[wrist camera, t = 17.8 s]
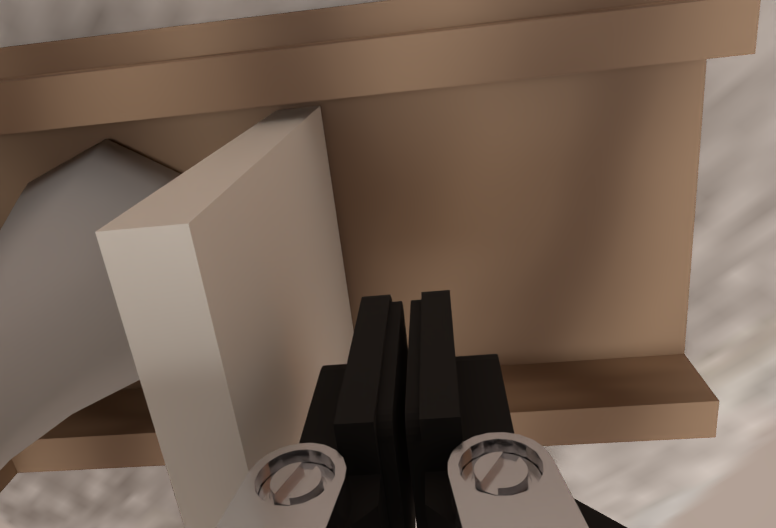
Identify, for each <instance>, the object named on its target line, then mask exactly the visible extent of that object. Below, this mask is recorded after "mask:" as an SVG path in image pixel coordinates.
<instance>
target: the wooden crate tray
mask: <svg viewBox="0 0 776 528" xmlns="http://www.w3.org/2000/svg"><path fill="white" fill-rule="evenodd" d="M760 1H761V0H387V1H379V2H371V3H363V4H355V5H346V6H338V7H330V8H322V9H314V10H305V11H297V12H289V13H281V14H273V15H264V16H256V17H248V18H240V19H232V20H223V21H215V22H207V23H199V24H191V25H182V26H174V27H166V28H158V29H150V30H141V31H133V32H125V33H117V34H109V35H100V36H92V37H84V38H76V39H68V40H59V41H51V42H43V43H35V44H27V45H18V46H10V47H2V48H0V230H1V228H2V226H3V224H4V223H5V221H6V219H7V217H8V216H9V214H10V212H11V210H12V209H13V207H14V205H15V203H16V202H17V200H18V198H19V197H20V195H21V194H22V192H23V190H24V189H25V187H26V186H27V184H28V183H29V182H31V181H32V180H34V179H36V178H38V177H39V176H41V175H43V174H45V173H47V172H48V171H50V170H52V169H54V168H55V167H57V166H59V165H61V164H62V163H64V162H66V161H68V160H69V159H71V158H73V157H75V156H77V155H78V154H80V153H82V152H84V151H85V150H87V149H89V148H91V147H92V146H94V145H96V144H98V143H100V142H101V141H103V140H105V139H108V140H110V141H112V142H114V143H116V144H119V145H121V146H123V147H125V148H127V149H129V150H131V151H133V152H135V153H138V154H140V155H142V156H144V157H146V158H148V159H150V160H152V161H154V162H157V163H159V164H161V165H163V166H165V167H167V168H169V169H171V170H173V171H176V172H178V173H180V174H182V173H184V172H185V171H187V170H188V169H190V168H191V167H193V166H194V165H196V164H197V163H199V162H200V161H202V160H203V159H205V158H206V157H208V156H209V155H211V154H212V153H214V152H215V151H217V150H218V149H220V148H221V147H223V146H224V145H226V144H227V143H229V142H230V141H232V140H233V139H235V138H236V137H238V136H239V135H241V134H242V133H244V132H245V131H247V130H248V129H250V128H251V127H253V126H254V125H256V124H257V123H259V122H260V121H262V120H263V119H265V118H266V117H268V116H269V115H270V114H272V113H273V112H275V111H276V110H284V109H294V108H303V107H312V106H320V108H321V115H322V122H323V129H324V135H325V142H326V149H327V155H328V162H329V169H330V176H331V182H332V189H333V196H334V203H335V209H336V216H337V223H338V230H339V236H340V243H341V250H342V257H343V263H344V270H345V277H346V283H347V290H348V297H349V304H350V310H351V317H352V324H353V331H354V329H355V324H356V320H357V316H358V311H359V307H360V302H361V298H362V297H364V296H377V295H391V298H392V302H396V301H402V303H403V309H404V317H405V326H406V335H407V344H408V342H409V323H410V304H411V300H421V292H428V291H441V290H450V298H451V310H452V321H453V333H454V345H455V356H470V355H485V354H498V357H499V362H500V367H501V371H502V376H503V381H504V386H505V391H506V395H507V400H508V405H509V410H510V415H511V419H512V424H513V429H514V434H519V435H522V436H525V437H527V438H530V439H533V440H534V441H536V442H537V443H539V444H540V445H542V446H553V445H573V444H592V443H612V442H632V441H651V440H671V439H690V438H710V437H716V428H717V418H718V408H719V400H718V399H717V397H716V396H715V395H714V393H713V392H712V391H711V389H710V388H709V387H708V385H707V384H706V383H705V381H704V380H703V378H702V377H701V376H700V374H699V373H698V372H697V370H696V369H695V368H694V366H693V365H692V364H691V362H690V361H689V360H688V358H687V357H686V356H685V354H684V350H685V337H686V324H687V311H688V297H689V284H690V271H691V258H692V245H693V231H694V218H695V205H696V192H697V179H698V165H699V152H700V139H701V126H702V113H703V99H704V86H705V73H706V60H707V59H710V58H720V57H729V56H738V55H747V54H755V49H756V39H757V30H758V20H759V10H760ZM161 465H165V461H164V458H163V455H162V452H161V448H160V445H159V442H158V438H157V435H156V432H155V428H154V425H153V422H152V419H151V415H150V412H149V409H148V405H147V402H146V399H145V395H144V392H143V389H142V385H141V382H140V380H138V381H136V382H134V383H132V384H130V385H128V386H126V387H124V388H122V389H120V390H119V391H117V392H115V393H113V394H111V395H109V396H107V397H105V398H103V399H101V400H99V401H97V402H95V403H93V404H91V405H89V406H87V407H85V408H83V409H81V410H79V411H77V412H75V413H73V414H71V415H70V416H69V417H67V418H66V419H65V420H63V421H62V422H61V423H59V424H58V425H57V426H55V427H54V428H53V429H51V430H50V431H48V432H47V433H46V434H44V435H43V436H42V437H40V438H39V439H38V440H36V441H35V442H34V443H32V444H31V445H30V446H28V447H27V448H25V449H24V450H23V451H21V452H20V453H19V454H17V455H16V456H15V457H13V458H12V459H11V460H9V461H8V463H7V464H6V465H5V466H4V467H3V468H2V469H1V470H0V492H1V491H2V490H3V489H4V488H5V486H6V485H7V484H8V483H9V482H10V481H11V480H12V479H13V477H14V476H15V475H16V474H17V473H24V472H43V471H63V470H83V469H102V468H122V467H141V466H161Z"/></svg>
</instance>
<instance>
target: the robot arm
mask: <svg viewBox="0 0 776 528" xmlns="http://www.w3.org/2000/svg"><path fill="white" fill-rule="evenodd" d="M415 518H416V523H417V528H627V527H625V526H623V525H621V524H620V523H618V522H616V521H614V520H612V519H610V518H609V517H607V516H605V515H603V514H601V513H600V512H598V511H596V510H594V509H592V508H590V507H589V506H587V505H585V504H583V503H581V502H579V501H578V500H576V499H574V498H573V496H572V494H571V492H570V490H569V488H568V486H567V484H566V482H565V481H564V479H563V477H562V475H561V473H560V471H559V469H558V467H557V465H556V463H555V461H554V459H553V457H552V456H551V455H550V454H549V452H548V451H547V450H546V449H545V447H543V446H542V445H540V444H539V443H537V442H536V441H534V440H533V439H530V438H527V437H525V436H522V435H519V434H514V429H513V424H512V419H511V415H510V410H509V405H508V400H507V395H506V391H505V386H504V381H503V376H502V371H501V367H500V362H499V357H498V354H485V355H470V356H455V345H454V333H453V321H452V310H451V298H450V290H441V291H428V292H421V300H411V304H410V323H409V342H408V344H407V335H406V326H405V317H404V309H403V303H402V301H396V302H392V298H391V295H377V296H364V297H362V298H361V302H360V307H359V311H358V316H357V320H356V324H355V329H354V333H353V338H352V342H351V347H350V351H349V356H348V360H347V364H337V365H324V366H322V368H321V370H320V373H319V377H318V380H317V383H316V387H315V390H314V394H313V397H312V400H311V404H310V407H309V411H308V414H307V418H306V421H305V424H304V428H303V431H302V435H301V438H300V441H299V443H298V444H293V445H289V446H285V447H282V448H279V449H277V450H275V451H273V452H271V453H269V454H267V455H266V456H264V457H263V458H262V459H260V460H259V461H258V462H256V463H255V465H254V466H253V467H252V468H251V470H250V471H249V472H248V473H247V475H246V477H245V478H244V480H243V482H242V484H241V485H240V487H239V489H238V490H237V492H236V494H235V495H234V497H233V499H232V500H231V502H230V504H229V506H228V507H227V509H226V511H225V512H224V514H223V516H222V517H221V519H220V521H219V522H218V524H217V526H216V527H215V528H415Z"/></svg>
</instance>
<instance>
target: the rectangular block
mask: <svg viewBox="0 0 776 528" xmlns="http://www.w3.org/2000/svg"><path fill="white" fill-rule="evenodd" d="M95 233H96V237H97V240H98V243H99V247H100V250H101V253H102V257H103V260H104V263H105V266H106V270H107V273H108V276H109V280H110V283H111V286H112V290H113V293H114V296H115V300H116V303H117V306H118V309H119V313H120V316H121V319H122V323H123V326H124V329H125V333H126V336H127V339H128V343H129V346H130V349H131V352H132V356H133V359H134V362H135V366H136V369H137V372H138V376H139V379H140V382H141V385H142V389H143V392H144V395H145V399H146V402H147V405H148V409H149V412H150V415H151V419H152V422H153V425H154V428H155V432H156V435H157V438H158V442H159V445H160V448H161V452H162V455H163V458H164V461H165V465H166V468H167V471H168V475H169V478H170V481H171V485H172V488H173V491H174V495H175V498H176V501H177V504H178V508H179V511H180V514H181V518H182V521H183V524H184V528H215V527H216V526H217V524H218V522H219V521H220V519H221V517H222V516H223V514H224V512H225V511H226V509H227V507H228V506H229V504H230V502H231V500H232V499H233V497H234V495H235V494H236V492H237V490H238V489H239V487H240V485H241V484H242V482H243V480H244V478H245V477H246V475H247V473H248V472H249V471H250V470H251V468H252V467H253V466H254V465H255V463H256V462H258V461H259V460H260V459H262V458H263V457H264V456H266V455H267V454H269V453H271V452H273V451H275V450H277V449H279V448H282V447H285V446H289V445H293V444H298V443H299V441H300V438H301V435H302V431H303V428H304V424H305V421H306V418H307V414H308V411H309V407H310V404H311V400H312V397H313V394H314V390H315V387H316V383H317V380H318V377H319V373H320V370H321V368H322V366H324V365H337V364H347V360H348V356H349V351H350V347H351V342H352V338H353V333H354V331H353V324H352V317H351V310H350V304H349V297H348V290H347V283H346V277H345V270H344V263H343V257H342V250H341V243H340V236H339V230H338V223H337V216H336V209H335V203H334V196H333V189H332V182H331V176H330V169H329V162H328V155H327V149H326V142H325V135H324V129H323V122H322V115H321V108H320V106H312V107H303V108H294V109H284V110H276V111H275V112H273V113H272V114H270V115H269V116H268V117H266V118H265V119H263V120H262V121H260V122H259V123H257V124H256V125H254V126H253V127H251V128H250V129H248V130H247V131H245V132H244V133H242V134H241V135H239V136H238V137H236V138H235V139H233V140H232V141H230V142H229V143H227V144H226V145H224V146H223V147H221V148H220V149H218V150H217V151H215V152H214V153H212V154H211V155H209V156H208V157H206V158H205V159H203V160H202V161H200V162H199V163H197V164H196V165H194V166H193V167H191V168H190V169H188V170H187V171H185V172H184V173H182V174H181V175H179V176H178V177H176V178H175V179H173V180H172V181H170V182H169V183H167V184H166V185H164V186H163V187H161V188H160V189H158V190H157V191H155V192H154V193H152V194H151V195H149V196H148V197H146V198H145V199H143V200H142V201H140V202H139V203H137V204H136V205H134V206H133V207H131V208H130V209H128V210H127V211H125V212H124V213H122V214H121V215H119V216H118V217H116V218H115V219H113V220H112V221H110V222H109V223H108V224H106V225H105V226H103V227H102V228H100V229H99V230H97V231H96V232H95Z"/></svg>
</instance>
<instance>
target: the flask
mask: <svg viewBox="0 0 776 528" xmlns="http://www.w3.org/2000/svg"><path fill="white" fill-rule="evenodd" d="M179 175H181V174H180V173H178V172H176V171H173V170H171V169H169V168H167V167H165V166H163V165H161V164H159V163H157V162H154V161H152V160H150V159H148V158H146V157H144V156H142V155H140V154H138V153H135V152H133V151H131V150H129V149H127V148H125V147H123V146H121V145H119V144H116V143H114V142H112V141H110V140H108V139H105V140H103V141H101V142H100V143H98V144H96V145H94V146H92V147H91V148H89V149H87V150H85V151H84V152H82V153H80V154H78V155H77V156H75V157H73V158H71V159H69V160H68V161H66V162H64V163H62V164H61V165H59V166H57V167H55V168H54V169H52V170H50V171H48V172H47V173H45V174H43V175H41V176H39V177H38V178H36V179H34V180H32V181H31V182H29V183H28V184H27V186H26V187H25V189H24V190H23V192H22V194H21V195H20V197H19V198H18V200H17V202H16V203H15V205H14V207H13V209H12V210H11V212H10V214H9V216H8V217H7V219H6V221H5V223H4V224H3V226H2V228H1V230H0V470H1V469H2V468H3V467H4V466H5V465H6V464H7V463H8V461H9V460H11V459H12V458H13V457H15V456H16V455H17V454H19V453H20V452H21V451H23V450H24V449H25V448H27V447H28V446H30V445H31V444H32V443H34V442H35V441H36V440H38V439H39V438H40V437H42V436H43V435H44V434H46V433H47V432H48V431H50V430H51V429H53V428H54V427H55V426H57V425H58V424H59V423H61V422H62V421H63V420H65V419H66V418H67V417H69V416H70V415H71V414H73V413H75V412H77V411H79V410H81V409H83V408H85V407H87V406H89V405H91V404H93V403H95V402H97V401H99V400H101V399H103V398H105V397H107V396H109V395H111V394H113V393H115V392H117V391H119V390H120V389H122V388H124V387H126V386H128V385H130V384H132V383H134V382H136V381H138V380H140V379H139V376H138V372H137V369H136V366H135V362H134V359H133V356H132V352H131V349H130V346H129V343H128V339H127V336H126V333H125V329H124V326H123V323H122V319H121V316H120V313H119V309H118V306H117V303H116V300H115V296H114V293H113V290H112V286H111V283H110V280H109V276H108V273H107V270H106V266H105V263H104V260H103V257H102V253H101V250H100V247H99V243H98V240H97V237H96V233H95V232H96V231H97V230H99V229H100V228H102V227H103V226H105V225H106V224H108V223H109V222H110V221H112V220H113V219H115V218H116V217H118V216H119V215H121V214H122V213H124V212H125V211H127V210H128V209H130V208H131V207H133V206H134V205H136V204H137V203H139V202H140V201H142V200H143V199H145V198H146V197H148V196H149V195H151V194H152V193H154V192H155V191H157V190H158V189H160V188H161V187H163V186H164V185H166V184H167V183H169V182H170V181H172V180H173V179H175V178H176V177H178V176H179Z"/></svg>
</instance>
